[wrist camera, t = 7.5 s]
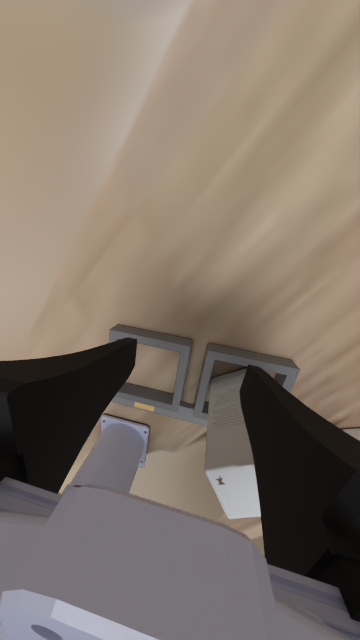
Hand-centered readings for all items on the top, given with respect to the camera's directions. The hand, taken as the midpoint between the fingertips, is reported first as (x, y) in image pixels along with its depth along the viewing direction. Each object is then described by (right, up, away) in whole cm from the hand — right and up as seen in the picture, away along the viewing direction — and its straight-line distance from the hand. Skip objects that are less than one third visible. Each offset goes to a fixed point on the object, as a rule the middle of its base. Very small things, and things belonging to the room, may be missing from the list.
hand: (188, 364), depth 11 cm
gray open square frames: (+1, -6, +13) cm, 14 cm away
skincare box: (+7, -6, +11) cm, 15 cm away
